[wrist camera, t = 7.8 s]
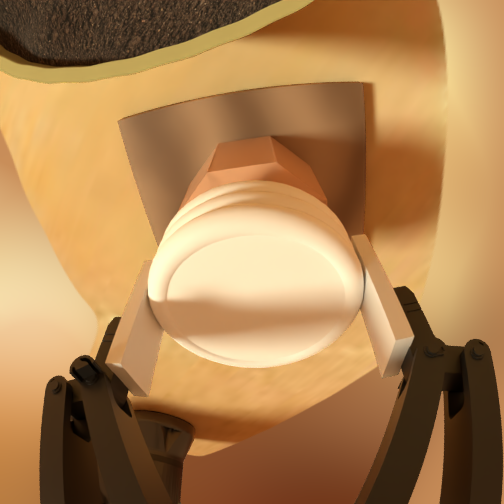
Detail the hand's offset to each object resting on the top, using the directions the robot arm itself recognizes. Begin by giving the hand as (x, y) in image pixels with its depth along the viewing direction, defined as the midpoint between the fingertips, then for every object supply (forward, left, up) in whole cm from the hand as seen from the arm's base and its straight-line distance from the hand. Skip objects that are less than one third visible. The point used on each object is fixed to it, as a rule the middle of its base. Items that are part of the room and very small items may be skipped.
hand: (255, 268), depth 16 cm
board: (0, 0, -10) cm, 10 cm away
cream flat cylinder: (0, 0, -1) cm, 1 cm away
